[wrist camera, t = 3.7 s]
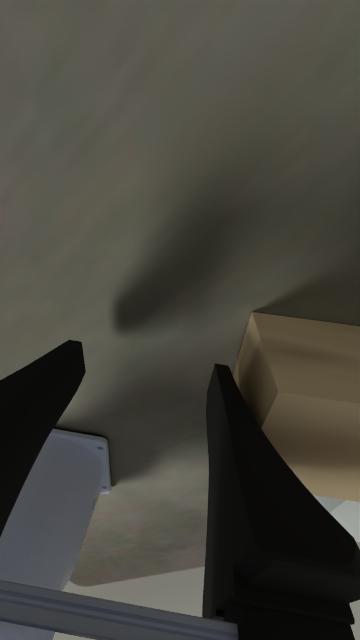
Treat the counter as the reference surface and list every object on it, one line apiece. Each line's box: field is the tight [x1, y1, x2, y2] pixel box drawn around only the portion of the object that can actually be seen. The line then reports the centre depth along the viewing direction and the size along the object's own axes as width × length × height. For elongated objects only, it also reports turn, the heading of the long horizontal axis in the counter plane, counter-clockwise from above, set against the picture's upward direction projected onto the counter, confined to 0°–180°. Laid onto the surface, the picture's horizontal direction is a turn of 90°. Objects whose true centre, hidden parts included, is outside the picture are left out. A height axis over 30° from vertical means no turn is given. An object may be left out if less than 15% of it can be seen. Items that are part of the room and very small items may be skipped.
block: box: [233, 312, 360, 502], centre depth 11 cm, size 6×6×5 cm
